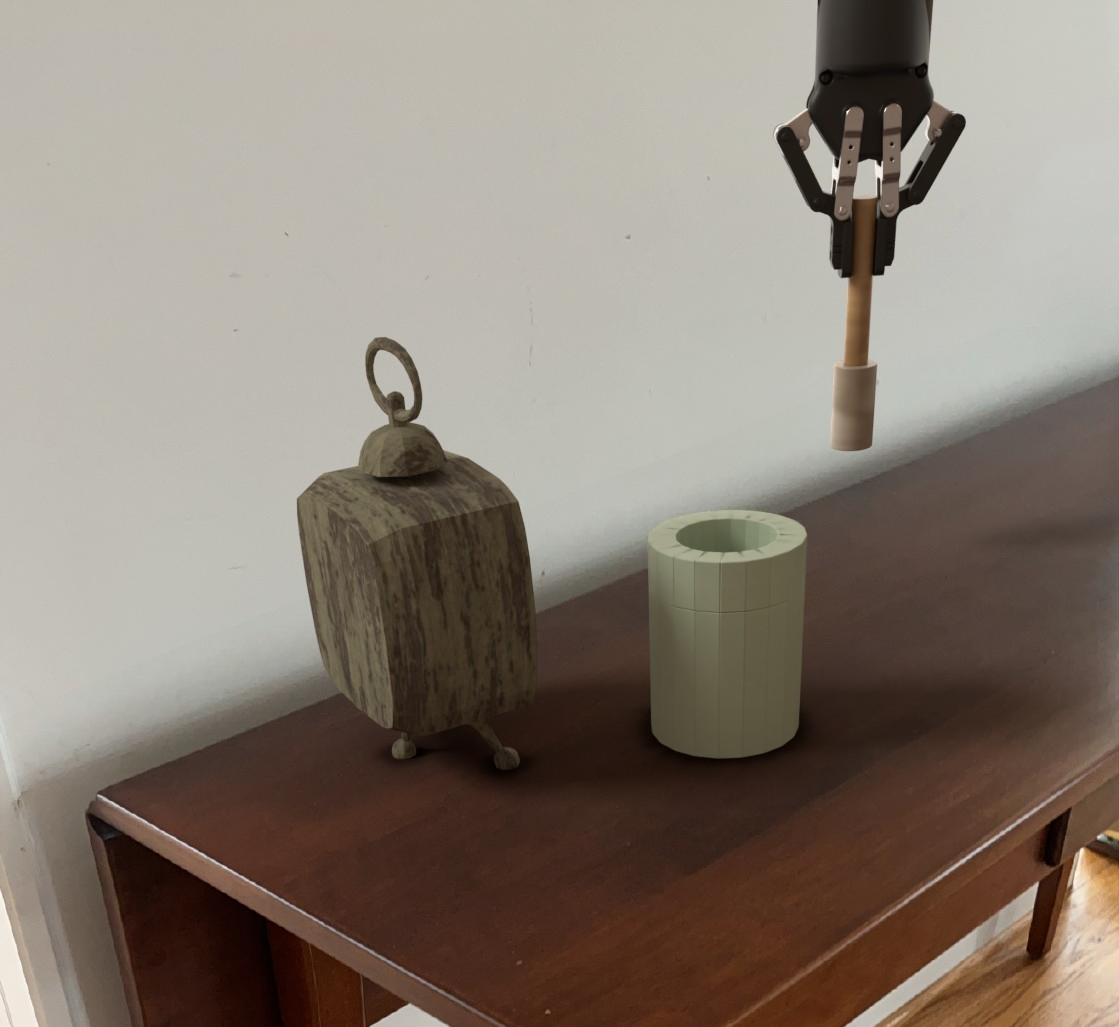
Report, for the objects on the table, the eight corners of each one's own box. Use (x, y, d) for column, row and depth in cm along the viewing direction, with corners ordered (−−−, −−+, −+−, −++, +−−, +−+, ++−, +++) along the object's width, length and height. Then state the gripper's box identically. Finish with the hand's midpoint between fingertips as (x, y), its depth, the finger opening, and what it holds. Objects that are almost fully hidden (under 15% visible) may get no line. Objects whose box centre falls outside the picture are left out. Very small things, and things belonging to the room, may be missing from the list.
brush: (868, 438, 112) (883, 192, 102) (875, 450, 109) (891, 198, 99) (827, 441, 112) (838, 195, 102) (833, 452, 109) (845, 201, 99)
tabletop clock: (547, 776, 89) (517, 347, 74) (416, 818, 86) (357, 377, 71) (446, 698, 99) (402, 308, 85) (326, 732, 96) (258, 332, 81)
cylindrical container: (788, 699, 96) (796, 505, 88) (806, 763, 89) (816, 557, 81) (649, 706, 97) (645, 513, 89) (654, 770, 89) (651, 565, 81)
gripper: (969, -26, 96) (945, 260, 106) (765, -10, 97) (760, 272, 107) (995, -25, 90) (967, 278, 100) (777, -8, 91) (770, 291, 101)
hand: (860, 274), depth 104 cm, fingers closed on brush, 2 cm apart
